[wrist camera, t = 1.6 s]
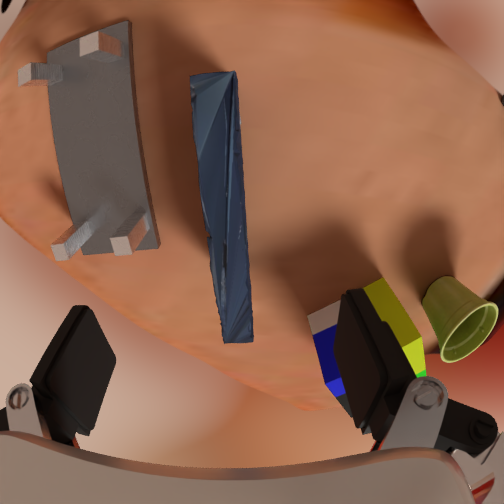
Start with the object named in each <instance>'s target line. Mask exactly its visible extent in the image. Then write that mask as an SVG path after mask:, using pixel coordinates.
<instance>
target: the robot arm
mask: <svg viewBox="0 0 504 504" xmlns="http://www.w3.org/2000/svg"><path fill="white" fill-rule="evenodd" d="M333 352H334V357H335V360H336V363H337V366H338V369H339V373H340V376H341V379H342V382H343V386H344V389H345V392H346V396H347V399H348V402H349V406H350V409H351V413H352V416H353V420H354V423H355V426H356V428H361V431H362V434H363V435H364V434H368V433H372V436H373V439H375V442H374V444H373V446H372V448H371V450H370V452H367V453H362V454H357V455H351V456H346V457H341V458H336V459H331V460H324V461H318V462H310V463H303V464H295V465H286V466H275V467H261V468H231V469H230V468H221V469H220V468H193V467H180V466H179V467H178V466H169V465H160V464H152V463H145V462H138V461H132V460H127V459H121V458H116V457H111V456H107V455H102V454H98V453H94V452H90V451H86V450H83V449H80V447H79V444H78V442H77V440H76V437H75V433H76V432H77V433H79V434H82V435H86V436H89V434H90V431H91V430H93V429H94V427H95V423H96V420H97V417H98V414H99V411H100V408H101V405H102V401H103V398H104V396H105V393H106V389H107V387H108V384H109V381H110V378H111V375H112V372H113V370H114V367H115V364H116V357H115V354H114V353H113V350H112V349H111V347H110V345H109V343H108V341H107V339H106V337H105V335H104V333H103V331H102V329H101V327H100V325H99V323H98V321H97V319H96V317H95V315H94V312H93V311H92V310H91V309H90V308H89V307H88V306H86V305H75V306H73V307H72V309H71V310H70V312H69V313H68V315H67V316H66V318H65V319H64V321H63V323H62V324H61V326H60V327H59V329H58V331H57V332H56V334H55V336H54V337H53V339H52V341H51V342H50V344H49V346H48V347H47V349H46V351H45V353H44V354H43V356H42V358H41V360H40V362H39V363H38V365H37V367H36V369H35V371H34V373H33V375H32V376H31V378H30V382H31V383H32V385H33V386H32V388H31V387H30V386H29V385H27V384H18V385H16V386H14V387H13V388H12V389H11V390H10V391H9V393H8V395H7V398H6V407H5V408H3V409H1V410H0V504H504V432H502V433H501V434H500V433H499V432H498V427H497V423H496V422H495V419H494V418H493V417H492V416H491V415H489V414H487V413H486V412H483V411H480V410H477V409H474V408H472V407H469V406H467V405H464V404H461V403H459V402H456V401H454V400H451V399H449V398H448V392H447V389H446V387H445V386H444V384H443V383H442V382H441V381H439V380H438V379H436V378H434V377H429V376H422V377H418V378H417V376H416V374H415V372H414V370H413V368H412V366H411V364H410V362H409V361H408V359H407V357H406V355H405V353H404V351H403V349H402V347H401V345H400V343H399V342H398V340H397V338H396V336H395V334H394V333H393V331H392V329H391V327H390V325H389V324H388V323H387V322H386V321H382V320H381V319H380V317H379V315H378V313H377V311H376V310H375V308H374V306H373V304H372V303H371V301H370V299H369V297H368V296H367V294H366V292H365V290H364V289H363V288H358V289H350V290H347V291H346V294H343V295H342V296H341V301H340V308H339V315H338V321H337V327H336V333H335V339H334V345H333ZM469 485H470V487H471V489H470V487H469Z"/></svg>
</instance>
